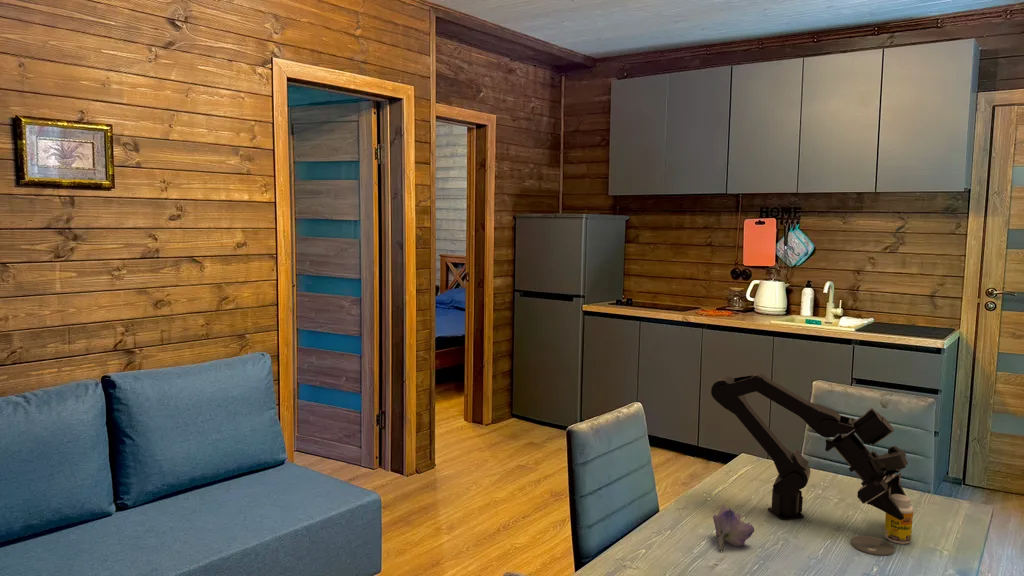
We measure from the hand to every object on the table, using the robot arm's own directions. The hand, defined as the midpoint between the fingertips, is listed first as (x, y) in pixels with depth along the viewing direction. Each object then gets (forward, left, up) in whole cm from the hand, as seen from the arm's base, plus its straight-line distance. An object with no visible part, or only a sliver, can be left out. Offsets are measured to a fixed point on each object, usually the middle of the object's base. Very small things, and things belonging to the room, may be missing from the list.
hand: (906, 513), depth 168 cm
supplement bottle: (-1, +1, -7) cm, 7 cm away
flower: (-41, +6, -7) cm, 42 cm away
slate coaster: (-9, -1, -7) cm, 12 cm away
